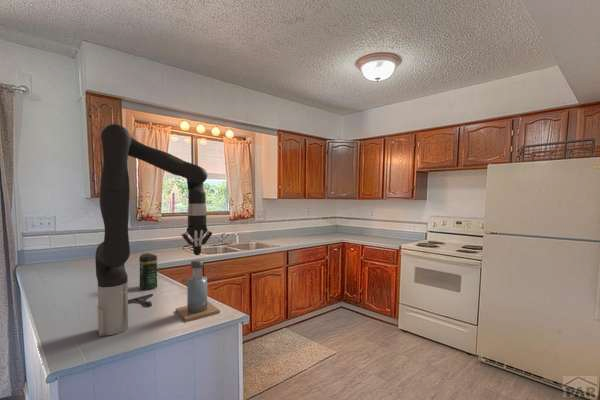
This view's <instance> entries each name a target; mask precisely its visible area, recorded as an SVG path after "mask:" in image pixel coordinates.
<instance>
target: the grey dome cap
mask: <svg viewBox="0 0 600 400" xmlns="http://www.w3.org/2000/svg"><path fill="white" fill-rule="evenodd" d="M204 267H205V265H204V260H203V259H202V260H201V259H195V260H191V261H190V268H191V269H193V268H202V269H203V268H204Z"/></svg>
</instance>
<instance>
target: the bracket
mask: <svg viewBox="0 0 600 400" xmlns="http://www.w3.org/2000/svg"><path fill="white" fill-rule="evenodd" d="M153 296H154V295H153V293H149V294H146V295H141V296H138V297H133V298H131V299H128V305H129V304H140V305H143V306H146V307H148V308H150V307H152V305H153V304H152V301H147V300H148V299H150V298H153Z"/></svg>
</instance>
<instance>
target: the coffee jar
mask: <svg viewBox="0 0 600 400" xmlns="http://www.w3.org/2000/svg"><path fill="white" fill-rule="evenodd" d="M138 261H139V288H140V290H143V291H147V290H148V291H150V290H151V291H152V290H153V289H156V288H157V287H158V256H157V255H155V254H152V253H150V252H149V253H142V254H141V255H139V260H138Z"/></svg>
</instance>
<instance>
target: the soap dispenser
mask: <svg viewBox="0 0 600 400" xmlns="http://www.w3.org/2000/svg"><path fill="white" fill-rule="evenodd" d="M186 283H187V285H186V288H187V290H186V291H187V292H186V293H187V297H186V298H187V300H186V301H187V302H186V303H187V305H184V306H179V307H175V312H176V313H177V314H178V316H180V318H181V319H183V321H184V322H185V323H188V322H191V321H195V320H200V319H203V318H205V317H206V318H207V317H210V316H213V315H214V316H215V315H218V314H220V313H221V310H220V309H219V308H217V307H216V306H215V305H214V304H212V303H211V302H210V301H208V277H207V276H203V267H202V268H192V277H188V278H187V280H186Z"/></svg>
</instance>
